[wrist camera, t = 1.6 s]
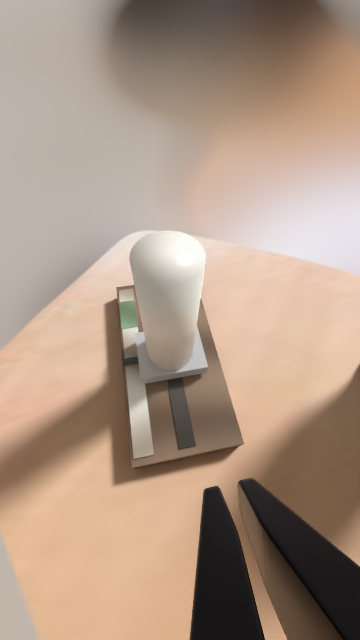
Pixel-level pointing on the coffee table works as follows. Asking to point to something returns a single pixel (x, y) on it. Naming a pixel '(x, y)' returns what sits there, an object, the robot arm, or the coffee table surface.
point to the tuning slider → (168, 306)
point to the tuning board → (174, 400)
